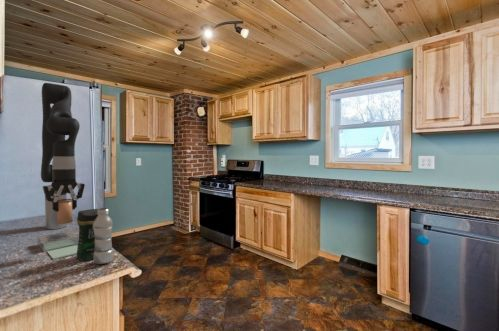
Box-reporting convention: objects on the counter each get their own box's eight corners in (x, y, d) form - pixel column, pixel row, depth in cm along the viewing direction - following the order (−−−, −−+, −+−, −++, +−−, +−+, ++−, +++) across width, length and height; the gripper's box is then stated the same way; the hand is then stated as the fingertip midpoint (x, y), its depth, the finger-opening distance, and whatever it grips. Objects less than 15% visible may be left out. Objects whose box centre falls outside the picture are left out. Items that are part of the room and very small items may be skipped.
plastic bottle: (105, 267, 93) (104, 211, 92) (88, 265, 94) (88, 210, 93) (117, 260, 99) (117, 207, 98) (102, 258, 101) (101, 206, 100)
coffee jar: (81, 263, 96) (80, 213, 95) (74, 257, 101) (74, 209, 100) (109, 256, 103) (109, 209, 102) (101, 250, 108) (101, 206, 108)
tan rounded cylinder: (55, 222, 105) (55, 199, 105) (70, 220, 109) (70, 198, 108) (59, 224, 101) (58, 201, 101) (74, 222, 105) (74, 200, 105)
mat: (47, 252, 105) (47, 251, 105) (76, 246, 113) (76, 245, 113) (53, 259, 99) (53, 258, 99) (83, 252, 106) (83, 251, 106)
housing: (37, 244, 113) (37, 236, 113) (70, 238, 122) (70, 231, 122) (43, 252, 105) (43, 243, 105) (78, 244, 114) (78, 237, 114)
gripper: (81, 167, 112) (82, 206, 113) (39, 168, 101) (40, 211, 102) (87, 167, 107) (88, 209, 108) (43, 169, 96) (44, 214, 97)
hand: (64, 210), depth 105 cm, fingers closed on tan rounded cylinder, 5 cm apart
